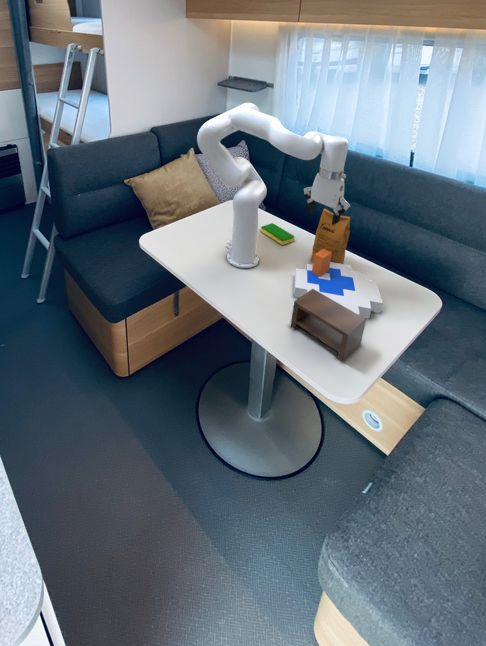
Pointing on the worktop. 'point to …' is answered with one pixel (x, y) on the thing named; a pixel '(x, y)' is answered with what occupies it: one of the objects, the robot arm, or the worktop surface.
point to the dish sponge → (277, 233)
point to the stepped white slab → (341, 288)
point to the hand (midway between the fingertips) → (322, 218)
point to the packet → (321, 262)
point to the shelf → (329, 322)
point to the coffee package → (332, 236)
